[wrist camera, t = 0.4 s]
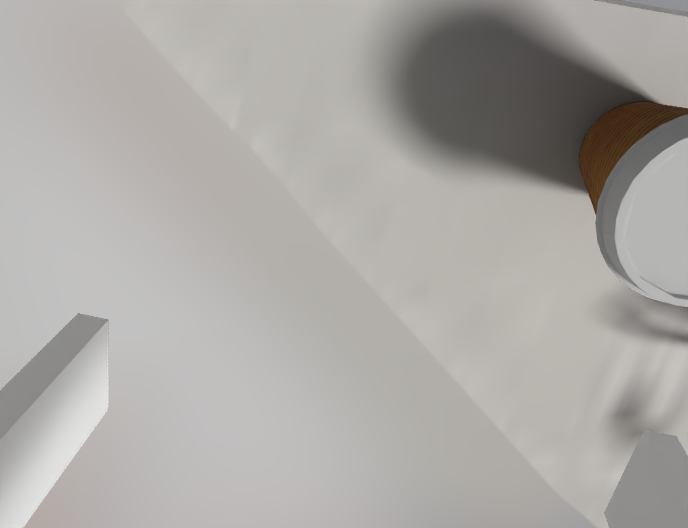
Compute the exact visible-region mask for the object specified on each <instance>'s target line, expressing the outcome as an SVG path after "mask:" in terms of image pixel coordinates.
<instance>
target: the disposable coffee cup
mask: <svg viewBox="0 0 688 528" xmlns="http://www.w3.org/2000/svg"><path fill="white" fill-rule="evenodd" d="M579 165H580V170H581V174H582V176H583V179H584V182H585V185H586V187H587V190H588V193H589V196H590V199H591V202H592V205H593V208H594V211H595V214H596V232H597V241H598V244H599V247H600V250H601V253H602V255H603V257H604V259H605V261H606V263H607V265H608V267H609V268H610V269H611V270H612V272H613V273H614V274H615V275H616V276H617V277H618V279H619V280H620V281H622V282H623V283H624V284H625V285H626V286H628V287H629V288H630V289H632V290H634V291H636V292H638V293H639V294H641V295H643V296H645V297H648V298H651V299H654V300H657V301H661V302H666V303H670V304H673V305H676V306H683V307H688V108H683V107H676V106H668V105H663V104H654V103H649V102H636V103H629V104H625V105H622V106H619V107H617V108H615V109H613V110H611V111H609V112H607V113H606V114H605V115H603V116H602V117H601V118H599V119H598V120H597V121H596V122H595V124H594V125H593V126H592V127H591V128H590V130H589V131H588V133H587V134H586V136H585V138H584V141H583V144H582V146H581V150H580V155H579Z"/></svg>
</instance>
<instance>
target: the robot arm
mask: <svg viewBox="0 0 688 528" xmlns="http://www.w3.org/2000/svg"><path fill="white" fill-rule="evenodd" d="M108 353H109V320H108V319H103V318H98V317H94V316H89V315H83V314H79V313H78V314H77V315H76V316H75V317H74V318H73V319H72V320H71V321H70V322H69V323H68V324H67V325H66V326H65V327H64V328H63V329H62V330H61V331H60V332H59V333H58V334H57V335H56V336H55V337H54V338H53V339H52V340H51V341H50V342H49V343H48V344H47V345H46V346H45V347H44V348H43V349H42V350H41V351H40V352H39V353H38V354H37V355H36V356H35V357H34V358H33V359H32V360H31V361H30V362H29V363H28V364H27V365H26V366H25V367H24V368H23V369H22V370H21V371H20V372H19V373H17V375H16V376H14V378H12V379H11V381H9V382H8V383H7V384H6V385H5V387H3V388H2V389H1V390H0V528H23V527H24V526H25V524H26V523H27V521H28V520H29V519H30V517H31V516H32V514H33V513H34V512H35V510H36V509H37V508H38V506H39V505H40V503H41V502H42V501H43V499H44V498H45V496H46V495H47V493H48V492H49V491H50V489H51V488H52V486H53V485H54V484H55V482H56V481H57V480H58V478H59V477H60V475H61V474H62V473H63V471H64V470H65V468H66V467H67V466H68V464H69V463H70V461H71V460H72V459H73V457H74V456H75V455H76V453H77V452H78V450H79V449H80V448H81V446H82V445H83V443H84V442H85V441H86V439H87V438H88V436H89V435H90V434H91V432H92V431H93V429H94V428H95V427H96V425H97V424H98V423H99V421H100V420H101V418H102V417H103V416H104V414H105V413H106V411H107V410H108V367H109V365H108V363H109V361H108V360H109V356H108V355H109V354H108ZM604 513H605V516H606V519H607V522H608V525H609V528H688V456H687V454H686V452H685V451H684V449H683V447H682V445H681V443H680V442H679V440H678V438H677V436H672V435H668V434H663V433H658V432H653V431H648V430H644V432H643V434H642V436H641V438H640V440H639V442H638V444H637V446H636V448H635V450H634V452H633V454H632V457H631V459H630V461H629V463H628V465H627V467H626V469H625V471H624V473H623V475H622V477H621V479H620V481H619V483H618V485H617V488H616V490H615V492H614V494H613V496H612V498H611V500H610V502H609V504H608V506H607V508H606V510H605V512H604Z"/></svg>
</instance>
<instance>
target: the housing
mask: <svg viewBox="0 0 688 528" xmlns="http://www.w3.org/2000/svg"><path fill="white" fill-rule="evenodd" d="M596 1H601V2H607V3H613V4H618V5H624V6H630V7H636V8H641V9H647V10H653V11H659V12H664V13H670V14H676V15H681V16H687V17H688V0H596Z"/></svg>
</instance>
